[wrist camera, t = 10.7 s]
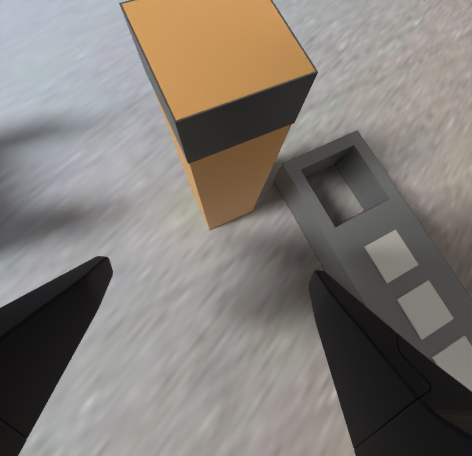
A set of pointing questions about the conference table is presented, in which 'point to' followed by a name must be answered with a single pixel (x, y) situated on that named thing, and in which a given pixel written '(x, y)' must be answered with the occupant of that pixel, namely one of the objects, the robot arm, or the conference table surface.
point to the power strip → (383, 254)
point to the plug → (222, 91)
